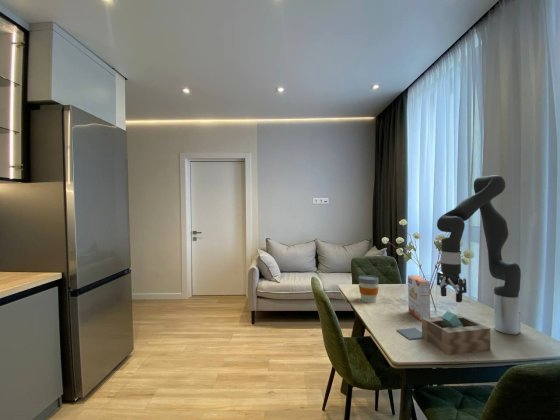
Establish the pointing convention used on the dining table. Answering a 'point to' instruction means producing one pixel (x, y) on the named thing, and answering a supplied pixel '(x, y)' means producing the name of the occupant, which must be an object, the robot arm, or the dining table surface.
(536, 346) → the dining table surface
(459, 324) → the teal block
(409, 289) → the cracker box
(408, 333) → the grey mat
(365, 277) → the reusable coffee cup
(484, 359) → the dining table surface
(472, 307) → the dining table surface
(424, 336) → the board
